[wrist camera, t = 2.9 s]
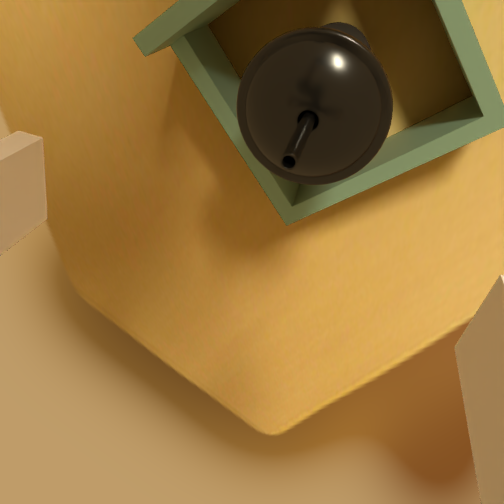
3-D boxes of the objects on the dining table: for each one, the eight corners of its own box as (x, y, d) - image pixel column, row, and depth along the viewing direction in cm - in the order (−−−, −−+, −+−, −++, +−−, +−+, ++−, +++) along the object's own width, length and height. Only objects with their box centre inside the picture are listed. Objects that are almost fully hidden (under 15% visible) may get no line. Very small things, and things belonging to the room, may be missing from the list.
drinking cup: (324, 131, 37) (274, 276, 21) (264, 50, 35) (154, 140, 19) (413, 69, 33) (435, 186, 17) (351, -27, 31) (308, 2, 15)
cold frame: (186, 19, 35) (132, 38, 28) (395, -146, 28) (397, -179, 20) (296, 197, 41) (276, 252, 34) (496, 102, 33) (526, 146, 26)
